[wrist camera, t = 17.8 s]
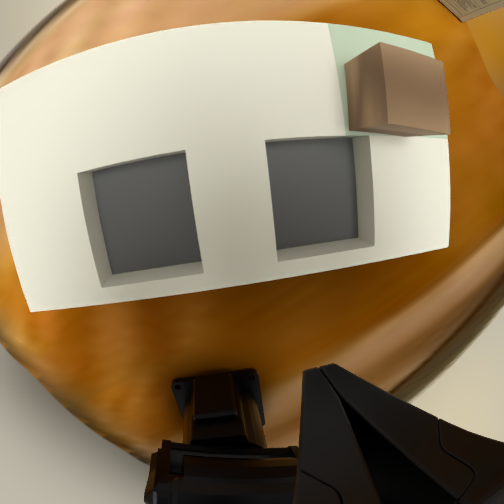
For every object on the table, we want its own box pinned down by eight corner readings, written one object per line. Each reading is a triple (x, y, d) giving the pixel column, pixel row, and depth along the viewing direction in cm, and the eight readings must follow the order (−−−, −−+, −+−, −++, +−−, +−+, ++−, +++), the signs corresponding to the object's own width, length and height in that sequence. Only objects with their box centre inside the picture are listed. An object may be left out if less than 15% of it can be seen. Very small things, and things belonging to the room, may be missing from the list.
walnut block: (406, 136, 15) (450, 134, 12) (349, 130, 15) (388, 123, 11) (401, 75, 14) (442, 61, 10) (344, 64, 14) (379, 41, 10)
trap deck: (427, 238, 20) (448, 246, 18) (46, 296, 17) (30, 311, 15) (411, 51, 16) (431, 43, 14) (14, 96, 13) (-6, 91, 11)
